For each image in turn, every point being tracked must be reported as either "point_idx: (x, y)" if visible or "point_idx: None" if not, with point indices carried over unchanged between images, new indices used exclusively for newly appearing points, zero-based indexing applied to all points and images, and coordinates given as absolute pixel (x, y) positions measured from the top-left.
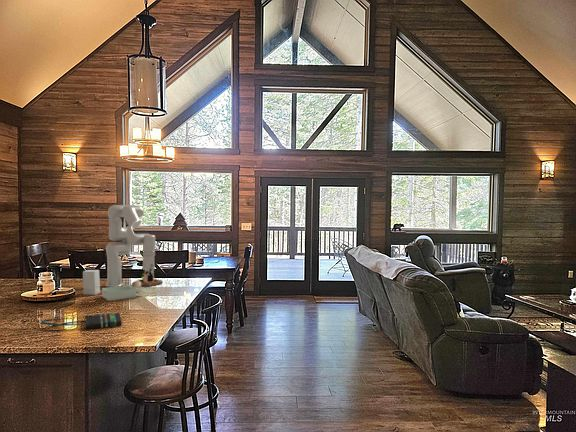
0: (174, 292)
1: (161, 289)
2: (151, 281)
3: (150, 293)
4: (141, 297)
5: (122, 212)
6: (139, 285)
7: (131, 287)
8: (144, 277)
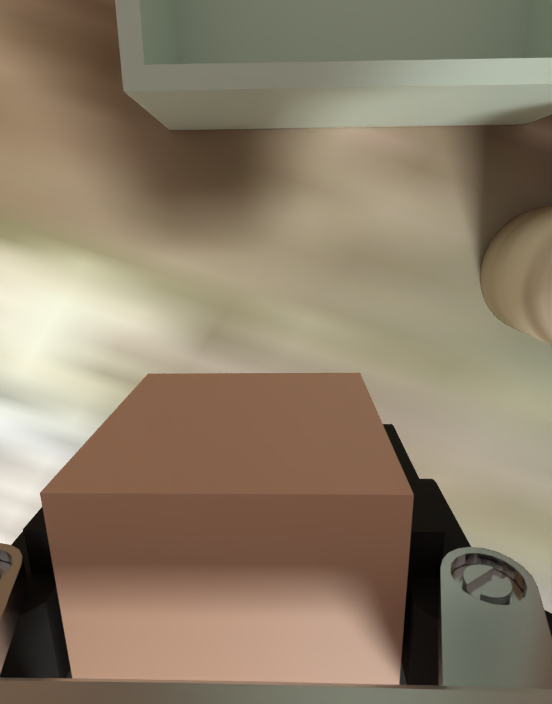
0: None
1: None
2: None
3: None
4: (103, 200)
5: None
6: (548, 313)
7: (413, 66)
8: (294, 424)
